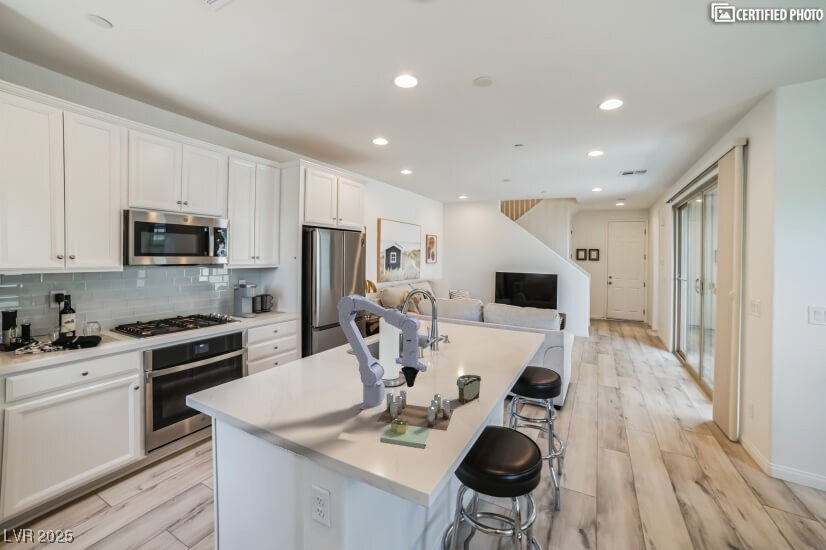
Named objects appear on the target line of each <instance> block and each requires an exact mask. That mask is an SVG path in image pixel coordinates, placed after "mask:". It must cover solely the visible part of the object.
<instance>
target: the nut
mask: <svg viewBox="0 0 826 550" xmlns="http://www.w3.org/2000/svg"><path fill="white" fill-rule="evenodd" d="M407 430H408V421H406V420H404V419H402V418H401V419H394V420H393V421H392V423H391V432H393V433H395V434H403V433H406V432H407Z"/></svg>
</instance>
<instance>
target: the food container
mask: <svg viewBox="0 0 826 550" xmlns="http://www.w3.org/2000/svg"><path fill="white" fill-rule="evenodd" d="M481 381H482V377H481V376H480V375H476V374H465V375H464V374H463V375H461V376H458V377H457V379H456V386H457V388H458V401H459V403H461V404H462V405H466V404H469V403H470V402H472V401H475V400H477V402H480V389H481Z"/></svg>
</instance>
